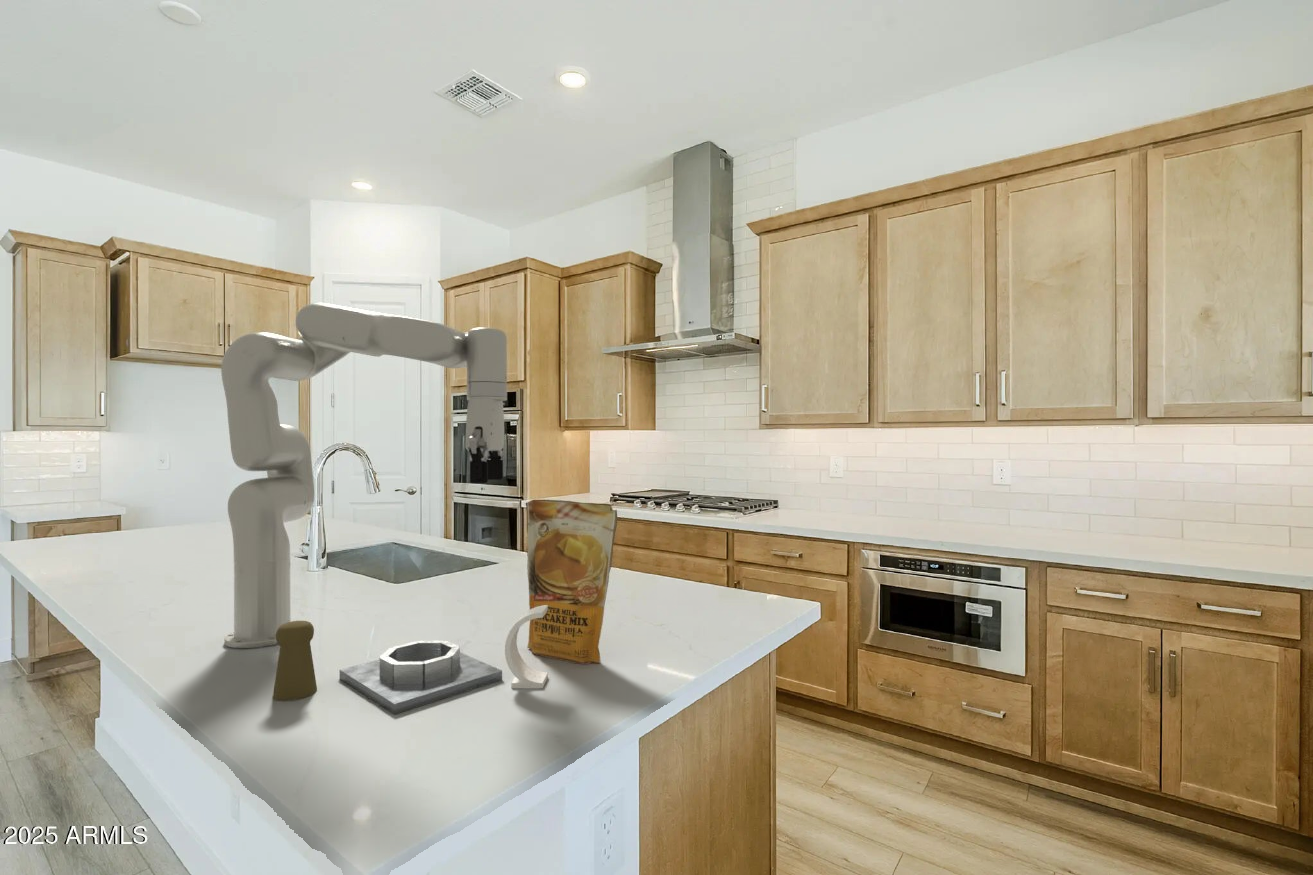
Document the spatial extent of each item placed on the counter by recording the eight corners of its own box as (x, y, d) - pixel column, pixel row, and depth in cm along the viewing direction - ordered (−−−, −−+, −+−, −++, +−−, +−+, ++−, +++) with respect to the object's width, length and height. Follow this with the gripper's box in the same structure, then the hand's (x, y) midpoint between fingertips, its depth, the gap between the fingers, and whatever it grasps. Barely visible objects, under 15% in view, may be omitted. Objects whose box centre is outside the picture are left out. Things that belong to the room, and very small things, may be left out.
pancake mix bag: (537, 641, 126) (537, 497, 125) (620, 657, 116) (620, 502, 116) (513, 651, 120) (513, 500, 120) (599, 669, 110) (599, 505, 110)
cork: (326, 688, 102) (325, 618, 102) (293, 703, 96) (293, 629, 96) (297, 683, 104) (296, 615, 104) (263, 697, 98) (263, 625, 98)
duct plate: (339, 678, 106) (339, 651, 106) (440, 651, 119) (440, 627, 119) (394, 714, 92) (394, 683, 92) (502, 679, 106) (502, 652, 106)
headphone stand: (542, 688, 102) (542, 612, 102) (504, 688, 102) (504, 612, 102) (548, 677, 107) (547, 604, 107) (511, 677, 107) (511, 604, 107)
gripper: (482, 395, 134) (482, 478, 134) (451, 389, 116) (451, 484, 116) (518, 395, 133) (518, 478, 133) (492, 389, 116) (492, 484, 116)
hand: (487, 481), depth 125 cm, fingers open, 9 cm apart
